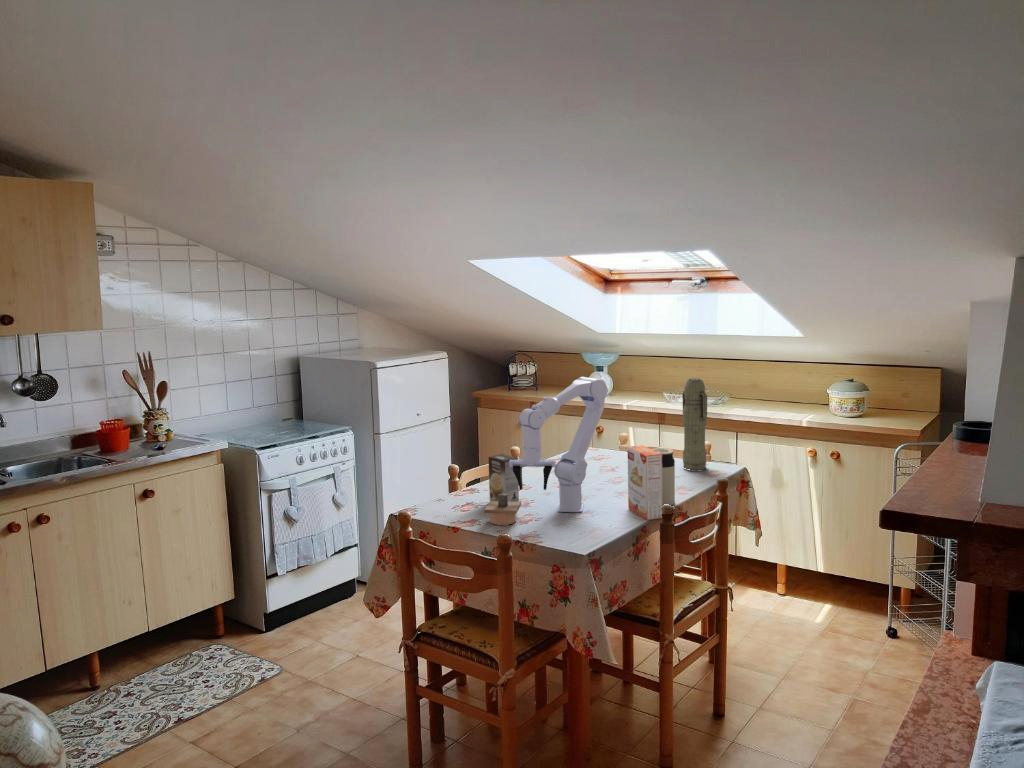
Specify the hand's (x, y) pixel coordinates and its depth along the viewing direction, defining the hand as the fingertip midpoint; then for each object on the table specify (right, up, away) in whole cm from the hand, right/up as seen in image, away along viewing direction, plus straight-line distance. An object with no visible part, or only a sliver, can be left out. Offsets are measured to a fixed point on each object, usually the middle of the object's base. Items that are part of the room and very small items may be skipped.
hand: (533, 488), depth 257 cm
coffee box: (-9, -7, +19) cm, 22 cm away
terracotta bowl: (-9, -10, -2) cm, 14 cm away
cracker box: (+36, -8, +2) cm, 37 cm away
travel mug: (+43, -7, +13) cm, 46 cm away
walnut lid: (-9, -6, -3) cm, 12 cm away
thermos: (+64, 0, +59) cm, 87 cm away
